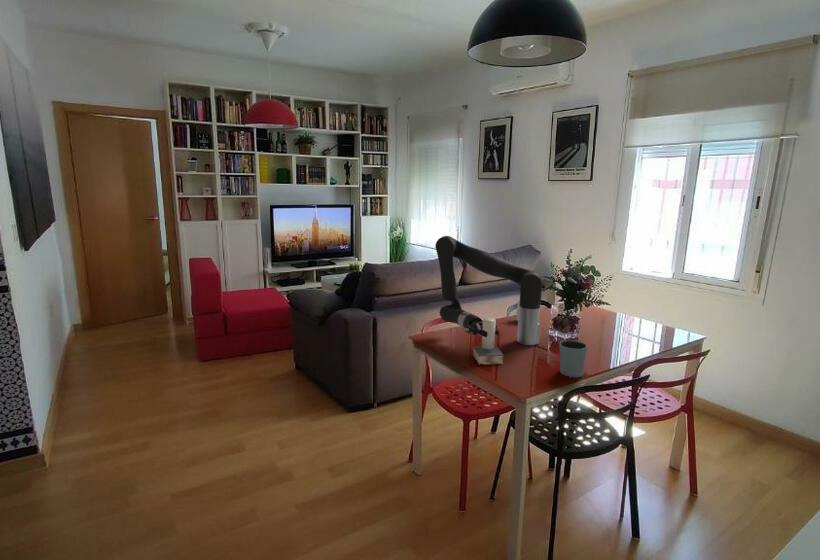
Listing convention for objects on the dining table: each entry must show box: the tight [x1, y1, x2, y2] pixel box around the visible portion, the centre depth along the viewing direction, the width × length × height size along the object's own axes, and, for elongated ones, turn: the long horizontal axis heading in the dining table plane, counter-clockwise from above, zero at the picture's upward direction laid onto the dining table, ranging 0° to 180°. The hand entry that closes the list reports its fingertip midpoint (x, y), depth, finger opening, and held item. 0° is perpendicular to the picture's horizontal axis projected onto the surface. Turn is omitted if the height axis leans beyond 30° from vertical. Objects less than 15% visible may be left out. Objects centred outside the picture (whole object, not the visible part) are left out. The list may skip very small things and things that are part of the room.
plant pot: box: [558, 339, 588, 379], centre depth 177 cm, size 10×10×12 cm
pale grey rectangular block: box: [481, 317, 497, 349], centre depth 188 cm, size 5×5×12 cm
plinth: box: [472, 345, 504, 366], centre depth 190 cm, size 10×10×4 cm
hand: (492, 333), depth 186 cm, fingers closed on pale grey rectangular block, 5 cm apart
